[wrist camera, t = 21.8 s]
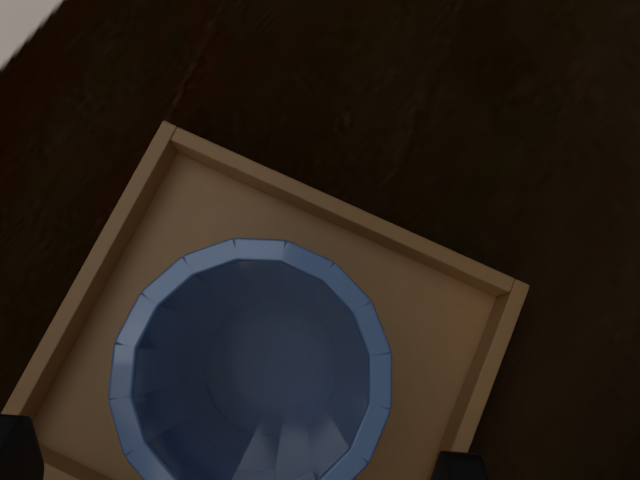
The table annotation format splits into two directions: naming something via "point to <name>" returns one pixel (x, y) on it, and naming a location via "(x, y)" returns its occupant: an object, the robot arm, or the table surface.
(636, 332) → the table surface
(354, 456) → the blue cup
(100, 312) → the tray
